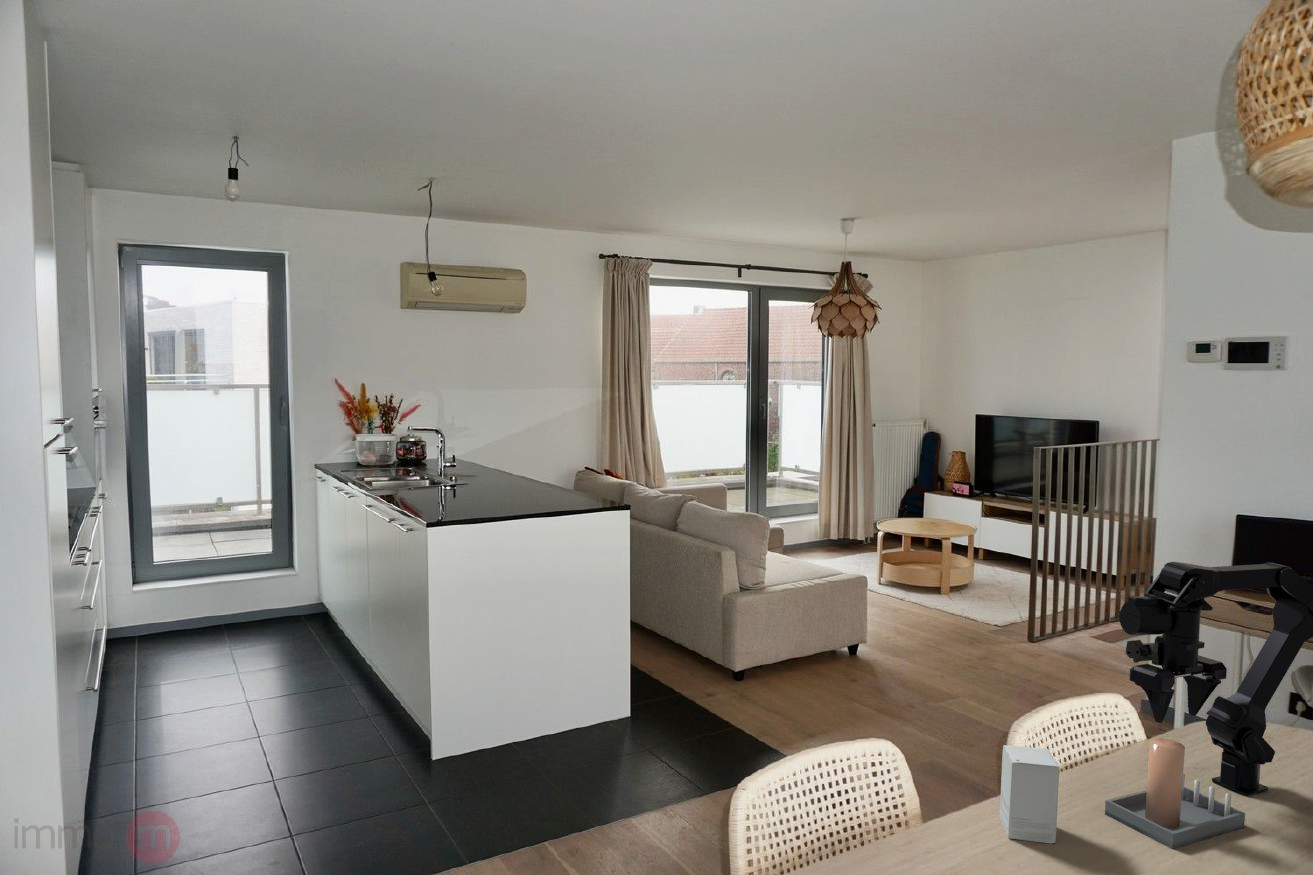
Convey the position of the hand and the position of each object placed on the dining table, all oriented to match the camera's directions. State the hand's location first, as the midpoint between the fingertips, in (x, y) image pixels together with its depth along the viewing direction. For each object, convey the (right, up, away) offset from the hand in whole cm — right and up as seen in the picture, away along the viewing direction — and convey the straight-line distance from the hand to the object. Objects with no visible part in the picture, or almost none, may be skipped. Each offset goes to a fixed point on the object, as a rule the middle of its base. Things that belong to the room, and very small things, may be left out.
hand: (1175, 718), depth 156 cm
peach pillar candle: (-10, -13, -12) cm, 20 cm away
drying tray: (-7, -14, -11) cm, 19 cm away
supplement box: (-34, -13, -16) cm, 39 cm away
